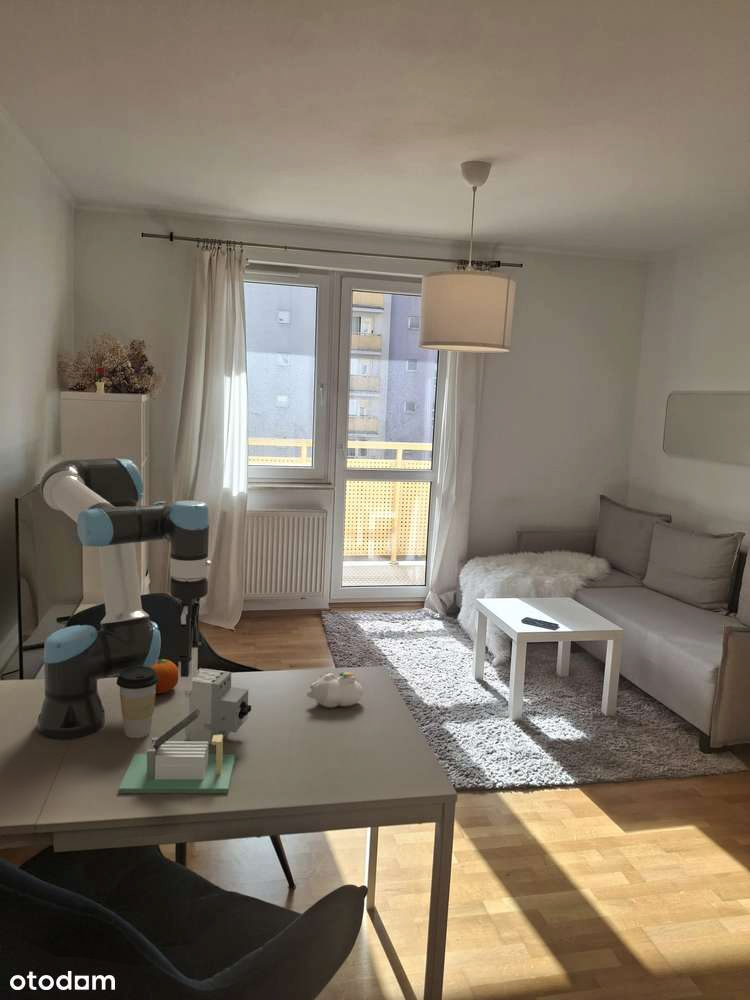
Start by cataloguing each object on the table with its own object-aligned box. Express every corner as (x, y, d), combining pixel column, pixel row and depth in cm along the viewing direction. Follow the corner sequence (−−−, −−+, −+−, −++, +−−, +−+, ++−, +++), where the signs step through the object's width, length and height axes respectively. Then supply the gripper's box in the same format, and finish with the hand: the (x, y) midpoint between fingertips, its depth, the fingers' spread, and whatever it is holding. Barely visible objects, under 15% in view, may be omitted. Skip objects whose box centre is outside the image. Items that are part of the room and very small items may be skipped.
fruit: (156, 702, 192) (156, 673, 191) (130, 691, 197) (130, 663, 196) (187, 689, 201) (187, 661, 200) (161, 679, 206) (161, 652, 205)
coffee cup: (135, 745, 169) (135, 684, 167) (108, 733, 174) (107, 673, 171) (166, 730, 177) (167, 671, 174) (140, 719, 182) (140, 661, 179)
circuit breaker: (242, 748, 170) (243, 687, 168) (184, 740, 173) (185, 679, 170) (253, 734, 177) (255, 675, 175) (198, 725, 180) (199, 667, 178)
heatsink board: (118, 793, 150) (118, 754, 148) (135, 758, 164) (135, 722, 162) (228, 793, 152) (228, 754, 150) (235, 758, 166) (235, 723, 164)
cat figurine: (365, 667, 198) (311, 665, 193) (370, 693, 192) (315, 691, 187) (355, 689, 203) (302, 687, 198) (360, 714, 197) (306, 713, 192)
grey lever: (151, 753, 155) (147, 749, 155) (154, 746, 158) (151, 742, 158) (198, 718, 154) (194, 714, 154) (200, 711, 157) (197, 707, 157)
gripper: (200, 590, 142) (199, 703, 146) (213, 565, 161) (212, 666, 164) (161, 589, 141) (160, 702, 145) (178, 564, 160) (177, 665, 164)
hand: (188, 682), depth 155 cm, fingers open, 6 cm apart
